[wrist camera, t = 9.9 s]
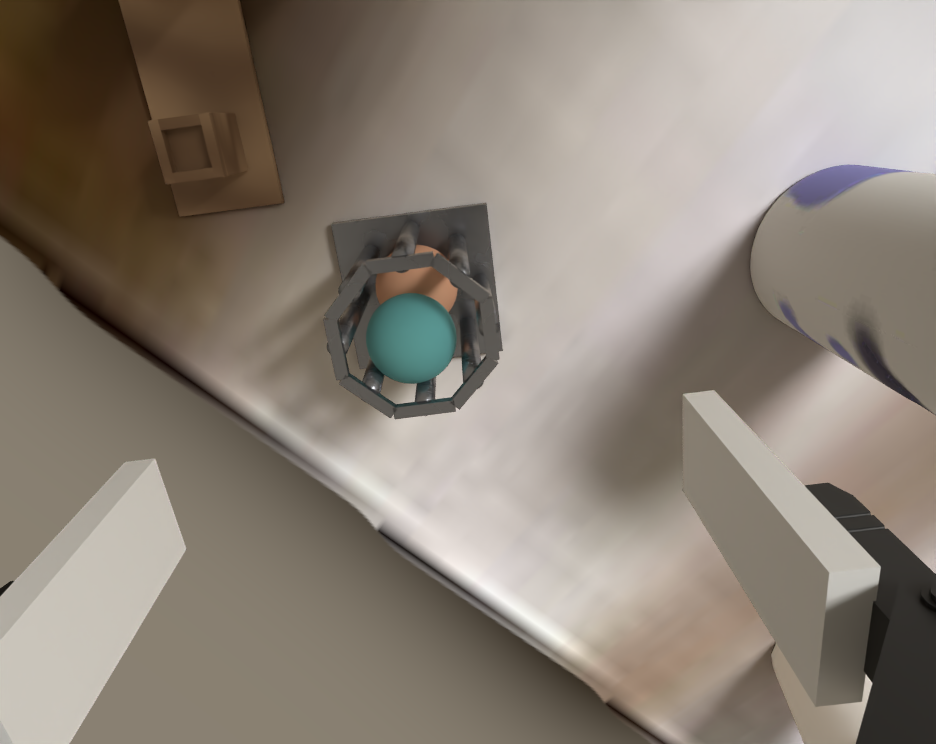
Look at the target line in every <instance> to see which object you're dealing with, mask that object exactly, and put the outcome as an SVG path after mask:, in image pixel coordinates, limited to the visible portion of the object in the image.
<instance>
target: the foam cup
mask: <svg viewBox="0 0 936 744" xmlns="http://www.w3.org/2000/svg"><path fill="white" fill-rule="evenodd" d="M771 658H772V664H773V669H774V670H775V674H776V677H777V679H778V682H779V684H780V687H781V689H782V691H783V694H784V696H785V699H786V701H787V703H788V706H789V708H790V711H791V713H792V716H793V718H794V720H795V723H796V725H797V728H798V730H799V733H800V735H801V737H802V740H803V742H804V744H856V741H857V737H858V733H859V730H860V726H861V723H862V719H863V715H864V712H865V708H866V705H867V701H868V697H869V694H870V690H871V686H872V682H871V681H870V679H869V678H868V676H867V675H866V676H865V684H864V691H863V698H862V702H856V703H847V704H838V705H829V706H820V707H815V706H814V704H813V702H812V701H811V699H810V697H809V696H808V694H807V693H806V691H805V689H804V688H803V686H802V684H801V683H800V681H799V679H798V678H797V676H796V675H795V673H794V671H793V670H792V668H791V666H790V665H789V663H788V661H787V660H786V658H785V657H784V655H783V653H782V652H781V650H780V648H779V647H778V645H777V643H776V645H775V647H774V649H773V652H772V654H771Z"/></svg>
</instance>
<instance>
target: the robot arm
mask: <svg viewBox="0 0 936 744" xmlns="http://www.w3.org/2000/svg"><path fill="white" fill-rule="evenodd" d="M683 492H684V493H685V495H686V496H687V498H688V500H689V501H690V503H691V505H692V506H693V508H694V509H695V511H696V513H697V514H698V516H699V518H700V519H701V521H702V523H703V524H704V526H705V527H706V529H707V531H708V532H709V534H710V536H711V537H712V539H713V541H714V542H715V544H716V545H717V547H718V549H719V550H720V552H721V554H722V555H723V557H724V559H725V560H726V562H727V563H728V565H729V567H730V568H731V570H732V572H733V573H734V575H735V576H736V578H737V580H738V581H739V583H740V585H741V586H742V588H743V590H744V591H745V593H746V594H747V596H748V598H749V599H750V601H751V603H752V604H753V606H754V608H755V609H756V611H757V612H758V614H759V616H760V617H761V619H762V621H763V622H764V624H765V626H766V627H767V629H768V630H769V632H770V634H771V635H772V637H773V639H774V640H775V642H776V643H777V645H778V647H779V648H780V650H781V652H782V653H783V655H784V657H785V658H786V660H787V661H788V663H789V665H790V666H791V668H792V670H793V671H794V673H795V675H796V676H797V678H798V679H799V681H800V683H801V684H802V686H803V688H804V689H805V691H806V693H807V694H808V696H809V697H810V699H811V701H812V702H813V704H814V706H815V707H820V706H829V705H838V704H847V703H856V702H862V698H863V691H864V684H865V676H866V675H867V676H868V678H869V679H870V681H871V682H872V686H871V690H870V694H869V697H868V701H867V705H866V708H865V712H864V715H863V719H862V723H861V726H860V730H859V733H858V737H857V741H856V744H936V574H935V573H934V572H933V571H932V570H931V569H930V568H928V567H927V566H926V565H925V564H924V563H923V562H922V561H921V560H920V559H919V558H918V557H917V556H916V555H915V554H914V553H913V552H912V551H911V550H910V549H909V548H908V547H907V546H905V545H904V544H903V543H902V542H901V541H900V540H899V539H898V538H897V537H896V536H895V535H894V534H893V533H892V532H891V531H890V530H889V529H885V527H884V525H883V524H882V523H881V522H880V521H879V520H878V519H877V518H876V517H875V516H874V515H871V514H870V511H869V510H868V509H867V508H866V507H865V506H864V505H863V504H862V503H860V502H859V501H858V500H857V499H856V498H855V497H854V496H853V495H851V494H849V493H847V492H845V491H843V490H841V489H839V488H837V487H836V486H834V485H832V484H830V483H821V484H813V485H805V486H804V485H803V484H802V483H801V482H800V481H799V479H798V478H797V477H796V476H795V475H794V474H793V473H792V472H791V471H790V470H789V469H788V468H787V467H786V466H785V465H784V464H783V463H782V461H781V460H780V459H779V458H778V457H777V456H776V455H775V454H774V453H773V452H772V451H771V450H770V449H769V448H768V447H767V446H766V445H765V443H764V442H763V441H762V440H761V439H760V438H759V437H758V436H757V435H756V434H755V433H754V432H753V431H752V430H751V429H750V428H749V427H748V425H747V424H746V423H745V422H744V421H743V420H742V419H741V418H740V417H739V416H738V415H737V414H736V413H735V412H734V411H733V410H732V408H731V407H730V406H729V405H728V404H727V403H726V402H725V401H724V400H723V399H722V398H721V397H720V396H719V395H718V394H717V393H716V392H715V390H710V391H702V392H694V393H686V394H683ZM185 551H186V546H185V544H184V541H183V538H182V535H181V532H180V529H179V526H178V523H177V521H176V518H175V515H174V512H173V509H172V506H171V503H170V500H169V497H168V495H167V491H166V489H165V486H164V483H163V480H162V477H161V474H160V472H159V468H158V466H157V463H156V460H155V459H146V460H138V461H130V462H124V464H123V465H122V466H121V467H120V468H119V469H118V470H117V471H116V472H115V473H114V474H113V475H112V477H111V478H110V479H109V480H108V481H107V482H106V483H105V484H104V485H103V486H102V487H101V488H100V489H99V490H98V492H97V493H96V494H95V495H94V496H93V497H92V498H91V499H90V500H89V501H88V502H87V503H86V505H85V506H84V507H83V508H82V509H81V510H80V511H79V512H78V513H77V514H76V515H75V516H74V518H73V519H72V520H71V521H70V522H69V523H68V524H67V525H66V526H65V527H64V528H63V529H62V530H61V532H60V533H59V534H58V535H57V536H56V537H55V538H54V539H53V540H52V541H51V542H50V543H49V544H48V546H47V547H46V548H45V549H44V550H43V551H42V552H41V553H40V554H39V555H38V556H37V558H35V560H34V561H33V562H32V563H31V564H30V565H29V566H28V567H27V568H26V569H25V570H24V571H23V573H22V574H21V575H20V576H19V577H18V578H17V579H16V580H15V581H10V582H9V583H7V584H6V585H4V586H3V587H2V588H0V744H69V743H70V742H71V740H72V738H73V737H74V735H75V733H76V732H77V730H78V728H79V727H80V725H81V724H82V722H83V720H84V718H85V717H86V715H87V714H88V712H89V710H90V709H91V707H92V705H93V704H94V702H95V700H96V699H97V697H98V695H99V694H100V692H101V690H102V689H103V687H104V685H105V684H106V682H107V680H108V678H109V677H110V675H111V674H112V672H113V670H114V669H115V667H116V665H117V664H118V662H119V660H120V659H121V657H122V655H123V654H124V652H125V650H126V649H127V647H128V645H129V644H130V642H131V640H132V639H133V637H134V635H135V634H136V632H137V630H138V629H139V627H140V625H141V624H142V622H143V620H144V619H145V617H146V616H147V614H148V612H149V611H150V609H151V607H152V605H153V604H154V602H155V601H156V599H157V597H158V596H159V594H160V592H161V590H162V589H163V587H164V585H165V584H166V582H167V581H168V579H169V577H170V576H171V574H172V572H173V571H174V569H175V567H176V566H177V564H178V562H179V561H180V559H181V557H182V556H183V554H184V552H185Z"/></svg>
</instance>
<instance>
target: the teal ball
mask: <svg viewBox="0 0 936 744" xmlns="http://www.w3.org/2000/svg"><path fill="white" fill-rule="evenodd" d="M456 341H457V336H456V329H455V325H454V322H453V320H452V318H451V316H450V314H449V313H448V311H447V310H446V309H445V308H444V307H443V306H442V305H441V304H440V303H439V302H438V301H436V300H434V299H433V298H431V297H428V296H426V295H422V294H417V293H405V294H400V295H396V296H394V297H391V298H390V299H388V300H386V301H385V302H384V303H382V304H381V305H380V306H379V307H378V308H377V309H376V310H375V312H374V313H373V315H372V317H371V318H370V321H369V323H368V327H367V332H366V345H367V350H368V353H369V356H370V358H371V360H372V362H373V363H374V364H375V366H376V367H377V368H378V369H379V370H380V371H381V372H382V373H383V374H384V375H386V376H387V377H389V378H391V379H393V380H395V381H398V382H402V383H409V384H414V383H421V382H425V381H428V380H430V379H432V378H434V377H436V376H437V375H439V374H440V373H441V372H442V371H443V370H444V369H445V368H446V367H447V366H448V364H449V363H450V361H451V359H452V357H453V355H454V352H455V348H456Z"/></svg>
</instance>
